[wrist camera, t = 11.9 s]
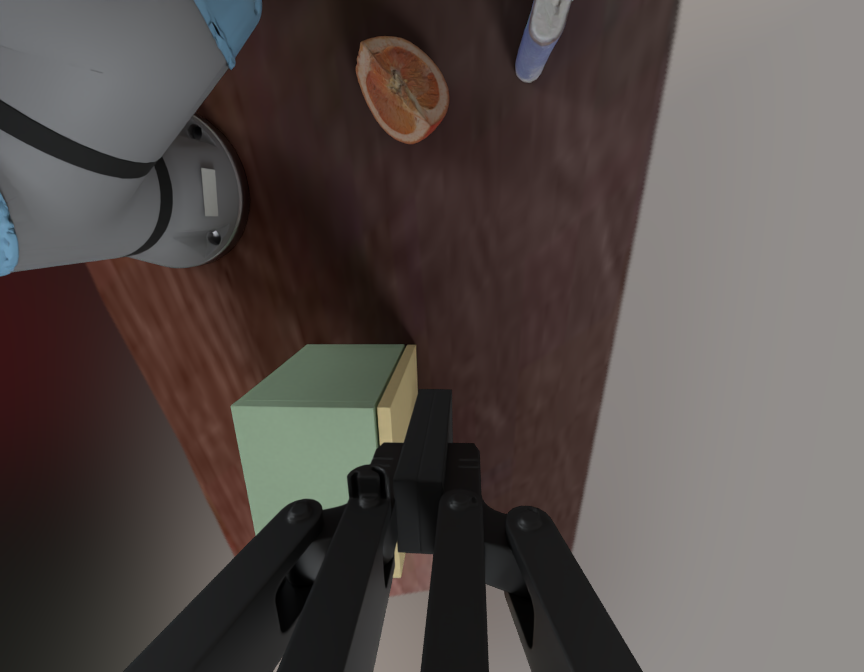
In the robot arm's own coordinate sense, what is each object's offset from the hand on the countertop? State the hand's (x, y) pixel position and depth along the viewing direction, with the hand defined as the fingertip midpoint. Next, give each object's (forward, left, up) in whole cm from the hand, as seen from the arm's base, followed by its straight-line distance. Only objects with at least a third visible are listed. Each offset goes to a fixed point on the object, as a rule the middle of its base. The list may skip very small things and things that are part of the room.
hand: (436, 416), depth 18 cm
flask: (+8, +24, -25) cm, 35 cm away
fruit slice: (-4, +19, -25) cm, 31 cm away
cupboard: (-11, -12, -24) cm, 30 cm away
